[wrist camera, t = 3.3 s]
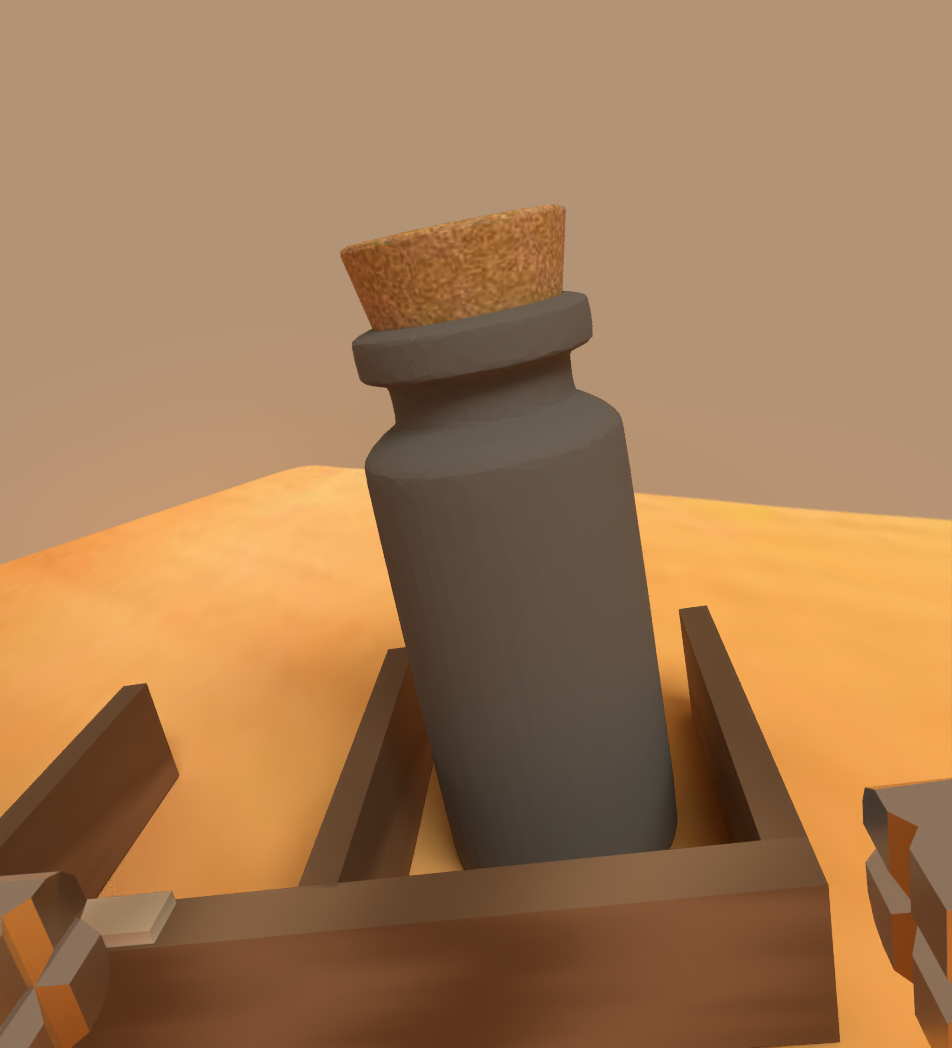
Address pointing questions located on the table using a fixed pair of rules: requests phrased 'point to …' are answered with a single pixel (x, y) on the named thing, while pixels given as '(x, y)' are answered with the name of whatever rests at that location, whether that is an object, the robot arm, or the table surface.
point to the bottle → (512, 545)
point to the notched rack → (448, 906)
